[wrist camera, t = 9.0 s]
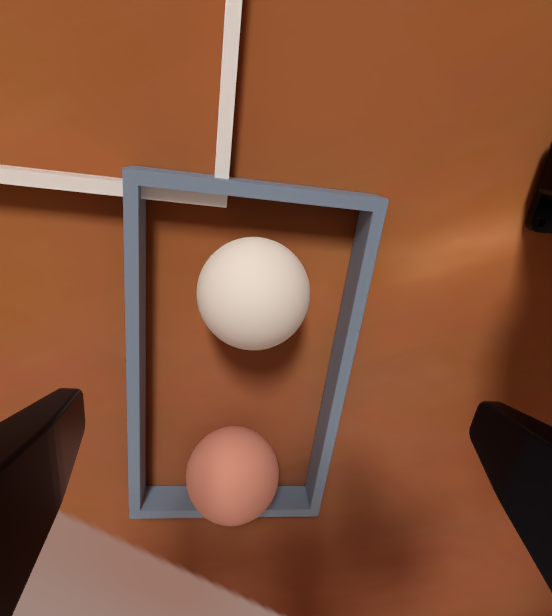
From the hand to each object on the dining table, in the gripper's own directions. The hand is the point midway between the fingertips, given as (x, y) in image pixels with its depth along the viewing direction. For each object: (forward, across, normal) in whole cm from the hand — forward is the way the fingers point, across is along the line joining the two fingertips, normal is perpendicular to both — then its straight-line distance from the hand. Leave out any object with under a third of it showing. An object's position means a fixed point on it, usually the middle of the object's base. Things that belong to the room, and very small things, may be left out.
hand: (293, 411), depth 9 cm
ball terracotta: (+12, 0, +11) cm, 16 cm away
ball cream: (+12, 0, +1) cm, 12 cm away
